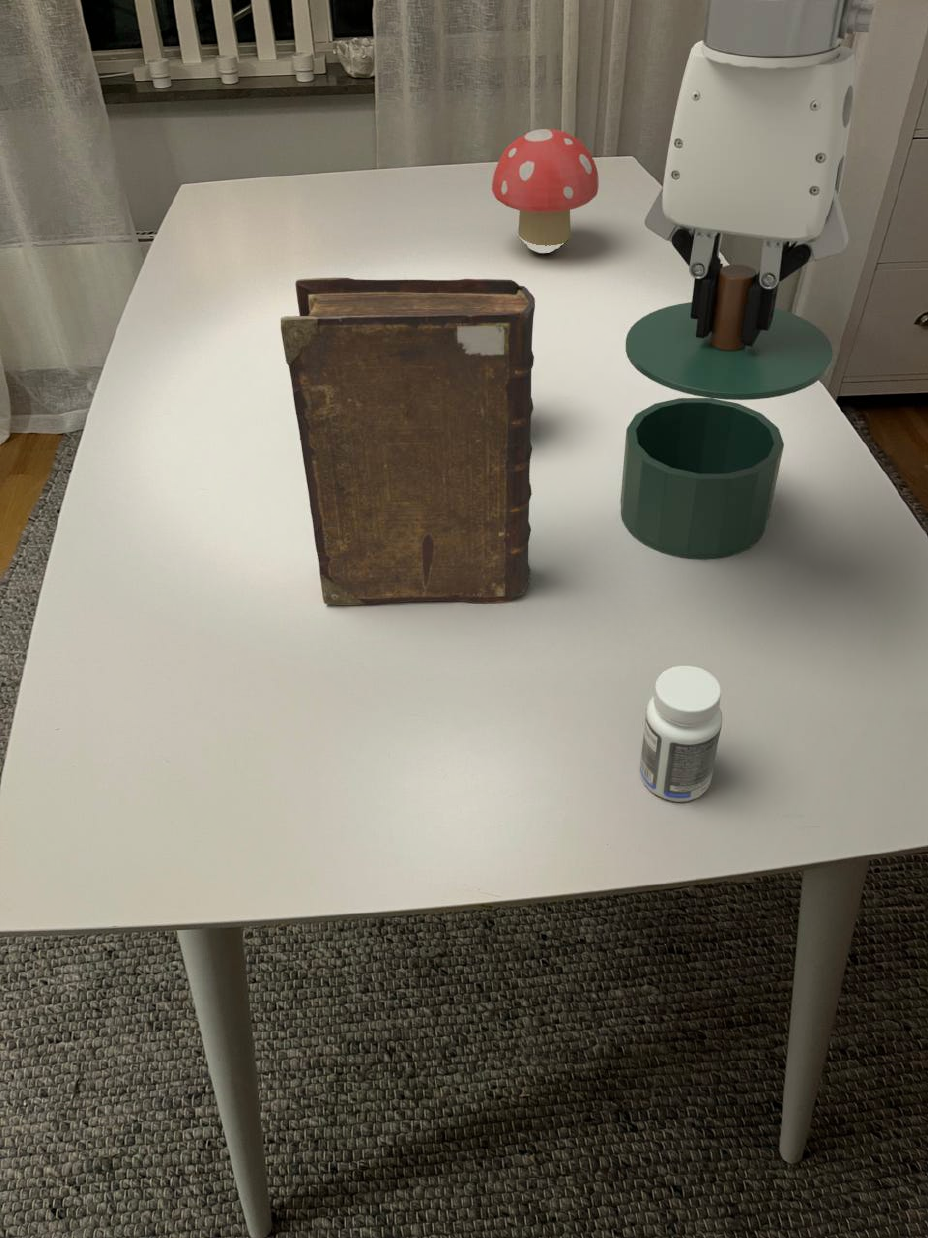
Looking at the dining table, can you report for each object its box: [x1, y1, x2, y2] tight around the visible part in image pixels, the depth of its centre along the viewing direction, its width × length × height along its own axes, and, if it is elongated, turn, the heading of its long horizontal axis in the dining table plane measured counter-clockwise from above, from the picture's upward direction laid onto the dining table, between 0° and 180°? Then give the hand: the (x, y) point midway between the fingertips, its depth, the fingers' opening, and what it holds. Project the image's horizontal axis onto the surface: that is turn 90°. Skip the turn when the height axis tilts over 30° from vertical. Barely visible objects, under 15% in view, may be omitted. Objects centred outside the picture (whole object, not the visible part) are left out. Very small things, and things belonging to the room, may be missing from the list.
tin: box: [619, 397, 785, 560], centre depth 87 cm, size 13×13×8 cm
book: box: [280, 277, 536, 606], centre depth 75 cm, size 17×7×25 cm, turn 83°
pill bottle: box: [639, 665, 723, 803], centre depth 65 cm, size 5×5×8 cm
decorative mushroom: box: [491, 128, 600, 246], centre depth 128 cm, size 13×13×15 cm
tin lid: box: [625, 264, 834, 401], centre depth 68 cm, size 14×14×6 cm
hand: (729, 331), depth 68 cm, fingers closed on tin lid, 2 cm apart
